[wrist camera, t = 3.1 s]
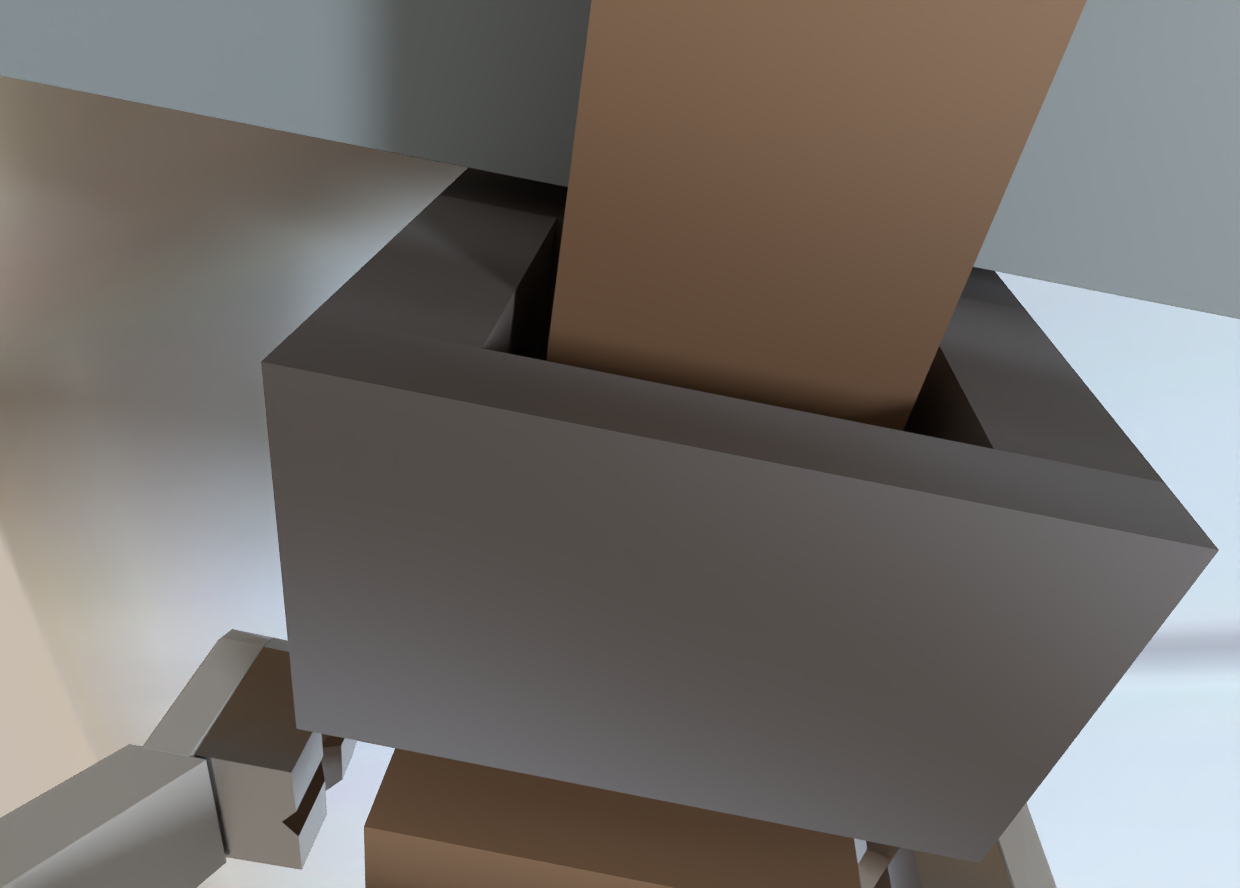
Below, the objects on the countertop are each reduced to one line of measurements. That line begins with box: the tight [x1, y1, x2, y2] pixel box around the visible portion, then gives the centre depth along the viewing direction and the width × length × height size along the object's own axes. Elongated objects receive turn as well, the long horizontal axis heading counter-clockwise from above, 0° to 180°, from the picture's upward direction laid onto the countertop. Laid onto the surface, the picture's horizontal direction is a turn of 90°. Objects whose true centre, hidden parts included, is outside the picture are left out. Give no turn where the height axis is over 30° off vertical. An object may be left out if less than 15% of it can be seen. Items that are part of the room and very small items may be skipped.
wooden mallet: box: [364, 0, 1087, 888], centre depth 7 cm, size 11×4×4 cm, turn 171°
